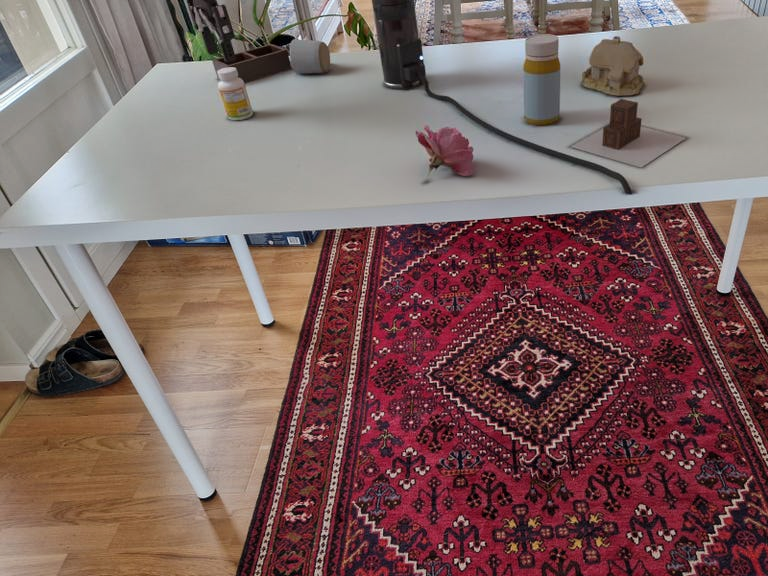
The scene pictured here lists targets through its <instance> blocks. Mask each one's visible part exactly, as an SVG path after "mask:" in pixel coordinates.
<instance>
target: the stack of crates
mask: <svg viewBox="0 0 768 576" xmlns="http://www.w3.org/2000/svg"><path fill="white" fill-rule="evenodd" d="M638 105H639V102H637V101H633V100H628V99H624V98H620V99H618V100H617V101H615V102H613V103H612V104H610V112H609V123H608V124H607V125H605V126H603V128H601V129H599V130H598V131H596V132H594V133H592V134H590V135H588V136H587V137H585V138H583V139H581V140H580V141H578V142H577V143H575V144H573V145H571V146H570V148H573V149H576V150H579V151H583V152H587V153H590V154H593V155H597V156H600V157H604V158H607V159H609V160H610V159H611V160H614V161H617V162H621V163H624V164H627V165H631V166H634V167H637V168H643V167H645V166H647V165H648V164H649V163H651V162H653V161H654V160H656V159H657V158H658V157H660V156H661V155H664V154H665V153H666V152H667V151H669V150H671V149H672V148H673V147H675V146H677V145H678V144H679V143H681V142H682V141H684V140H686V137H684V136H680V135H676V134H672V133H669V132H665V131H661V130H657V129H653V128H649V127H646V126H642V117H637V115H638Z"/></svg>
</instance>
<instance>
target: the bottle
mask: <svg viewBox="0 0 768 576" xmlns="http://www.w3.org/2000/svg"><path fill="white" fill-rule="evenodd" d="M559 40H560V39H559V36H557V35H555V34H551V33H538V34H532V35H529V36H527V37H525V40H524V51H525V53H524V54H525V60H524V62H523V66H522V67H523V70H522V72H523V73H522V74H523V117H524V120H525V121H526V122H527V124H528V123H529V124H530V125H534V126H548V125H552V124H553V123H556V122H557V121H558V119H559V118H560V111H561V109H560V108H561V61H560V59H559V48H560V47H559V46H560V45H559V43H560V41H559Z"/></svg>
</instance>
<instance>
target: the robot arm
mask: <svg viewBox="0 0 768 576" xmlns="http://www.w3.org/2000/svg"><path fill="white" fill-rule="evenodd" d="M415 4H416V3H415V0H371V6H372V12H373V19H374V24H375V25H374V26H375V33H376V38H377V44H378V50H379V58H380V62H381V69H382V76H383V84H384V86H385V87H387V88H390V89H399V90H400V89H402V90H409V89H411V88H414V87H416V86H420V85H423V87H424V91H425V93H426V95H428V97H430V98H433V99H435V100H439V101H446V102H448V103H449V104H451V105H453V106H454V107H455V108H456V109H457V110H458V111H459V112H460V113H462V114H464V115H465V116H466V117H468V118H469V119H470V120H472V121H473V122H475V123H476V124H478V126H479V125H480V126H481V127H483V128H485V129H486V130H488V131H490V132H492V133H493V134H496V135H498V136H500V137H502V138H504V139H506V140H508V141H510V142H514V143H516V144H518V145H521V146H524V147H526V148H529V149H532V150H533V151H534V150H535V151H537V152H540V153H542V154H545V155H549V156H551V157H554V158H558V159H559V160H563V161H567V162H569V163H571V164H576V165H578V166H582V167H586V168H587V169H592V170H595V171H597V172H600V173H602V174H603V175H606V176H607V177H611V178H613V179H615V180H617V181H618V182H619V183H620V185H621V186H622V189H623V190H624V193H625V194H626V195H632V194H633V191H632V189H631V186H630V184H629V183H628V181H627V179H626V178H625V177H624V176H623V175H622V174H621V173H619V172H617V171H615V170H612V169H610V168H608V167H605V166H603V165H601V164H598V163H595V162H592V161H589V160H586V159H582V158H579V157H576V156H573V155H570V154H566V153H564V152H561V151H558V150H554V149H552V148H548V147H546V146H542V145H539V144H537V143H535V142H531V141H529V140H525V139H523V138H521V137H517V136H515V135H513V134H511V133H508V132H505V130H502V129H499V128H497V127H495V126H493V125H491V124H489V123H488V122H487V121H484V120H483V119H481V118H480V117H478V116H477V115H475V114H473V113H472V112H470V111H469V110H468V109H467V108H465V107H463V105H461V104H460V103H459V102H458V101H456V100H455V99H454V98H452V97H450V96H448V95H443V94H441V95H440V94H436V93H434V92H432V91H431V89H430V87H429V82H428V80H427V77H426V76H427V72H426V66H425V61H424V53H423V44H422V39H421V38H420V37H419V29H418V20H417V11H416V5H415ZM186 5H187V8H188V11H189V14H190V17H191V20H192V24H193V27H194V29H195V31H198V33H199V35H200V36H201V37H202V40H203V43H204V47H205V50H206V53H207V54H208V55H211V56H212V55H215V54H218V53H219V48H218V44H219V46H220V50H221V53H222V57H224V60H225V61H226V62H232V61H235V60H236V56H235V54H236V53H235V50H234V49H235V48H234V45H233V43H232V41H233V39H236V34H235V31H234V29H233V25H232V22H231V19H230V16H229V12H228V9H227V6H226V4H219V3H218V0H186ZM215 37H216V38H215ZM216 39H217V41H218V42H219V43H218V44H217V41H216Z"/></svg>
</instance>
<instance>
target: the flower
mask: <svg viewBox="0 0 768 576" xmlns="http://www.w3.org/2000/svg"><path fill="white" fill-rule="evenodd" d="M423 130H425V132H426V133H427V134H426V133H424V132H422V131H418V130H415V136H416V138H417V141H418V143H419V144H420V146H422V147H423V148H424V149H425V151H426V152H427V154H428V155H429V156H430V158H428V161H429V162H430V163H429V165H428V167H429V171H428V175H427V178H425V179H426V180H425V181H424V182H425V183H426V182H427V180H428V179H429V176H430V173H431V171H432V170H433V169H435V171H437V169H439V167H441V166H443V167H451V169H452V170H453V171H454V172H455V173H456V174H458V175H460V176H462V177H468V176H471V175H473V172H474V162H473V160H474V147H473V146H469V145H470V140H469V139H468V138H466V136H463V134H462V133H461V132H460V131H459V130H458V129H457V127H454V128H451V126H445V127H441V128H439V130H438V131H433V130H431V129H430V127H429V124H426V125H424V127H423Z"/></svg>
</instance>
